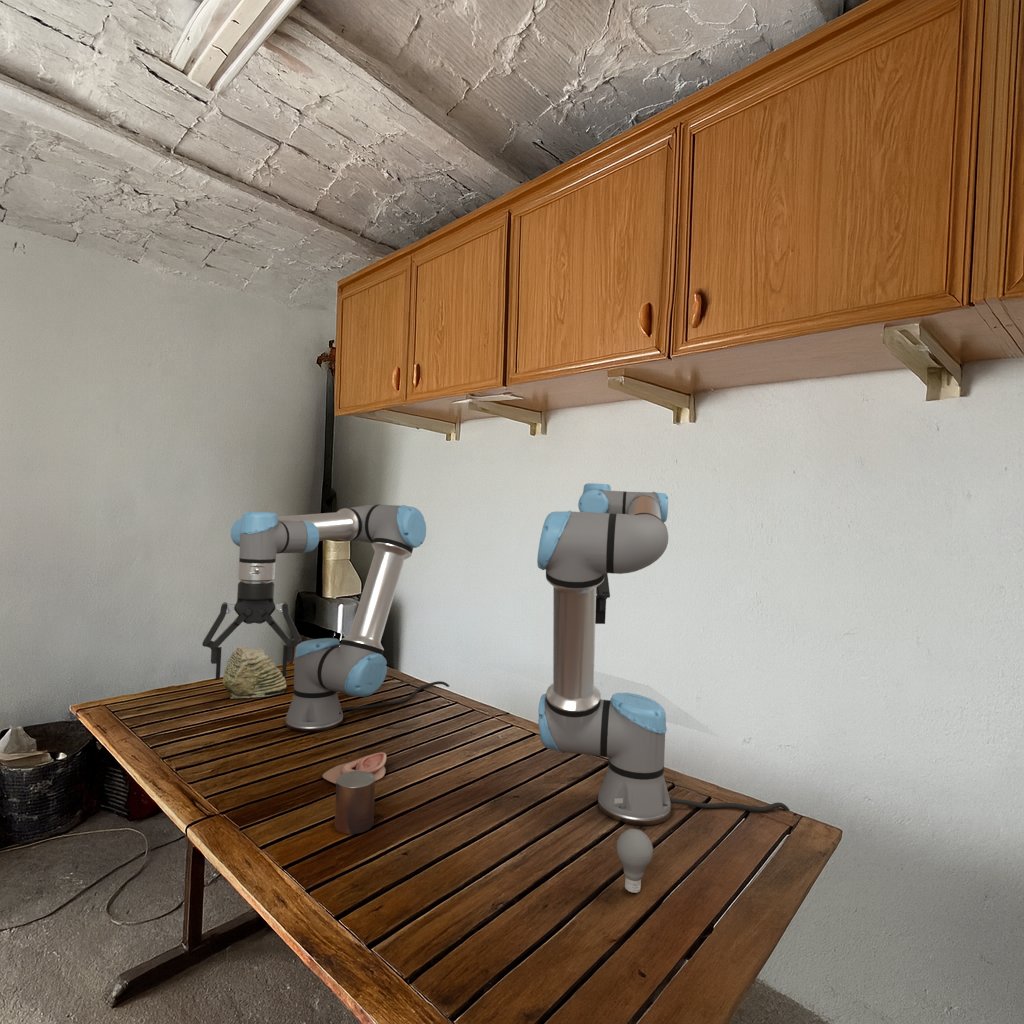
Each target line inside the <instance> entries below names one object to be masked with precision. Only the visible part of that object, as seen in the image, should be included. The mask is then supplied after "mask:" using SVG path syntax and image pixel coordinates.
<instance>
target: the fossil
mask: <svg viewBox="0 0 1024 1024" xmlns="http://www.w3.org/2000/svg"><path fill="white" fill-rule="evenodd" d="M222 676H223V677H222V685H223V687H224V688H225V690H226V691H228V693H229V698H230V699H250V698H264V697H271V696H275V695H281V694H284V693H285V691H286V689H287V687H288V686H287V680H286V677H282V671H281V669H279V668H278V667H277V665H276V663H275V662H274V660H273V659H272V658H271V657H270V656H269V655H268V654H267V653H266V652H265V650H264V649H263V648H260V647H258V648H251V647H247V646H246V647H245V646H238V647H237V648H236V649H235V650H233V651H232V653H231V656H230V657H229V659H228V660H227V663H226V666H225V668H224V671H223V675H222Z"/></svg>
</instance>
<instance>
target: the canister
mask: <svg viewBox="0 0 1024 1024" xmlns="http://www.w3.org/2000/svg"><path fill="white" fill-rule="evenodd" d="M375 800H376V781H375V775H374V774H372V773H370V772H366V771H350V772H346V773H344V774H341V775H340V776H339V777H338V778H337V780H336V784H335V803H334V805H335V806H334V807H335V808H334V809H335V810H334V829H335V830H336V831H337V832H339V833H341V834H344V835H345V834H346V835H357V834H361V833H365V832H367V831H369V830H370V829H371V828H372V827H373V826H374V824H375V804H376V803H375Z"/></svg>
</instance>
